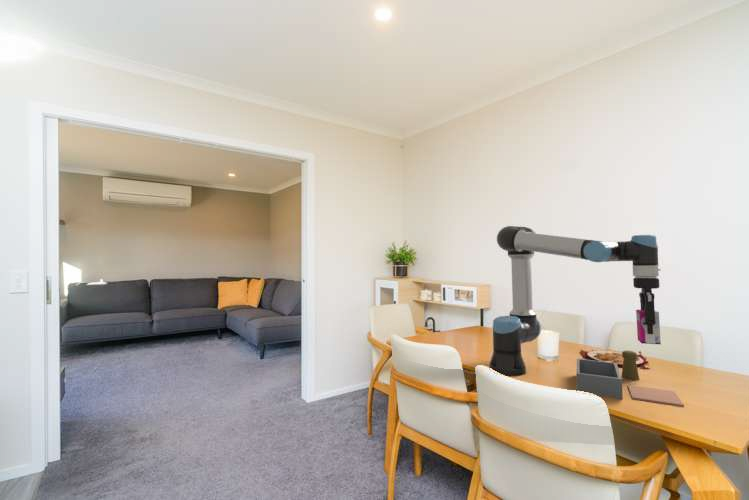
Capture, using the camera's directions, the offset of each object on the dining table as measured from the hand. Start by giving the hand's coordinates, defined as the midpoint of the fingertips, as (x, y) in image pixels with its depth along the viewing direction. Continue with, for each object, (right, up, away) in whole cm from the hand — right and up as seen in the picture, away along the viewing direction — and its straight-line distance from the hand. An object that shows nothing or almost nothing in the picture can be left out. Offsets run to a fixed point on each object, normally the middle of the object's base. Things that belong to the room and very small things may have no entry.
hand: (648, 341), depth 129 cm
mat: (+1, -19, -1) cm, 19 cm away
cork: (+6, -20, +18) cm, 28 cm away
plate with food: (+16, -21, +42) cm, 50 cm away
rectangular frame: (-13, -20, +9) cm, 25 cm away
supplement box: (0, -1, 0) cm, 1 cm away
